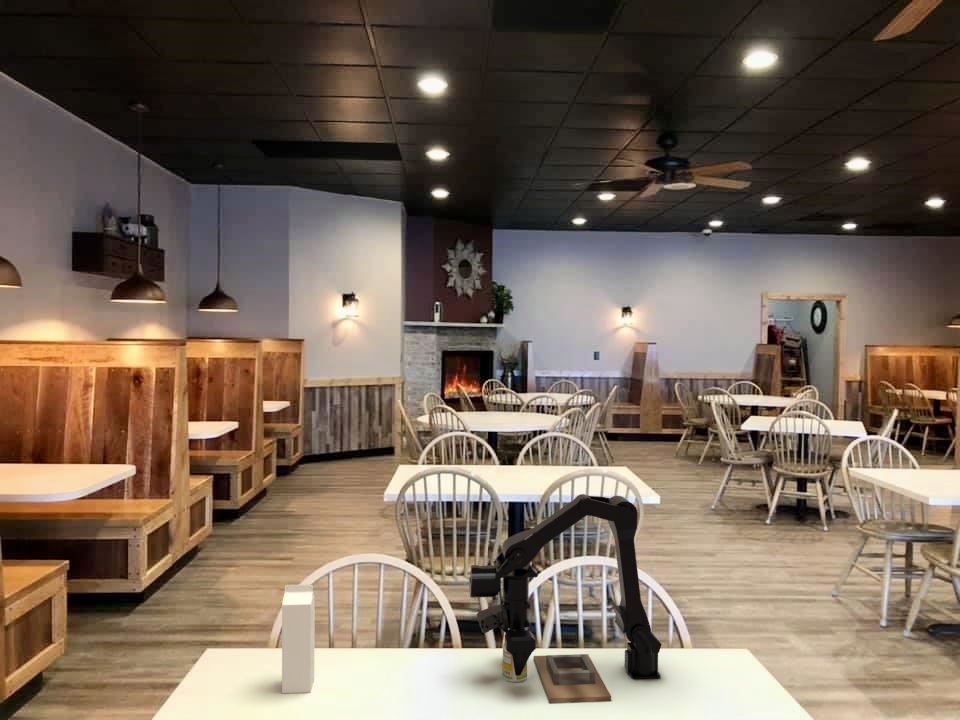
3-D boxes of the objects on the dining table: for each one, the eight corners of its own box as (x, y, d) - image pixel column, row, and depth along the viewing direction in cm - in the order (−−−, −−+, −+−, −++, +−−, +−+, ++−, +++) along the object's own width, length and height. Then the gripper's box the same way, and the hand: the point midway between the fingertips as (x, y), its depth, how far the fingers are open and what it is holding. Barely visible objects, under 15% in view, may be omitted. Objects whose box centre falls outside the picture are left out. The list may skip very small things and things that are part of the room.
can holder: (588, 658, 167) (588, 643, 167) (611, 700, 147) (611, 684, 147) (533, 660, 166) (533, 645, 166) (549, 703, 146) (549, 686, 146)
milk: (286, 680, 155) (286, 580, 155) (314, 679, 156) (314, 579, 155) (281, 694, 149) (281, 589, 149) (311, 693, 150) (310, 588, 149)
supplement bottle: (527, 672, 160) (527, 629, 160) (526, 683, 155) (526, 639, 154) (503, 670, 161) (503, 628, 160) (501, 682, 155) (502, 638, 155)
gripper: (475, 582, 166) (475, 648, 166) (483, 612, 147) (482, 687, 147) (523, 581, 167) (522, 647, 167) (536, 611, 148) (535, 685, 148)
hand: (515, 665), depth 158 cm, fingers open, 9 cm apart
